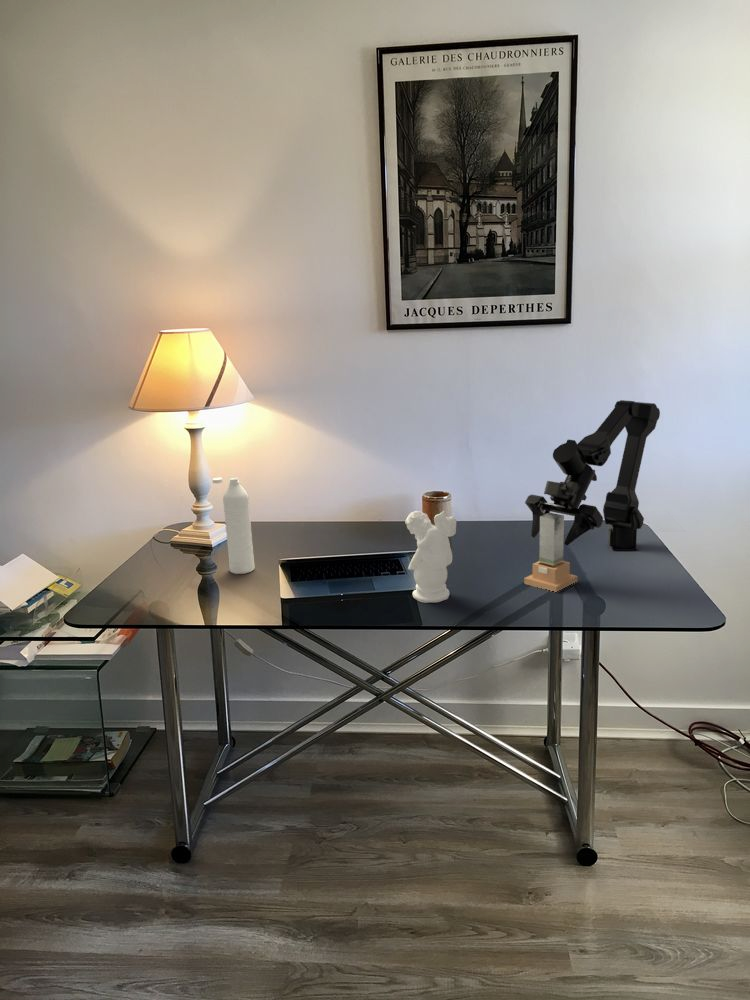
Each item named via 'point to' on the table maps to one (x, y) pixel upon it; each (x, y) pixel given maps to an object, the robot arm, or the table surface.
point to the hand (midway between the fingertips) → (548, 540)
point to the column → (551, 538)
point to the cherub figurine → (431, 555)
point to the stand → (551, 576)
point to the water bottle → (238, 527)
